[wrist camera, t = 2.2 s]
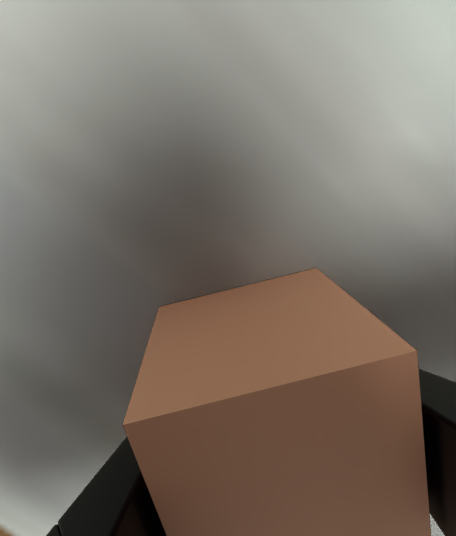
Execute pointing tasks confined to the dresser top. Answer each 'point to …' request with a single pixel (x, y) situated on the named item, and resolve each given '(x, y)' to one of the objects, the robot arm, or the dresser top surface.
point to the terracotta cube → (280, 416)
